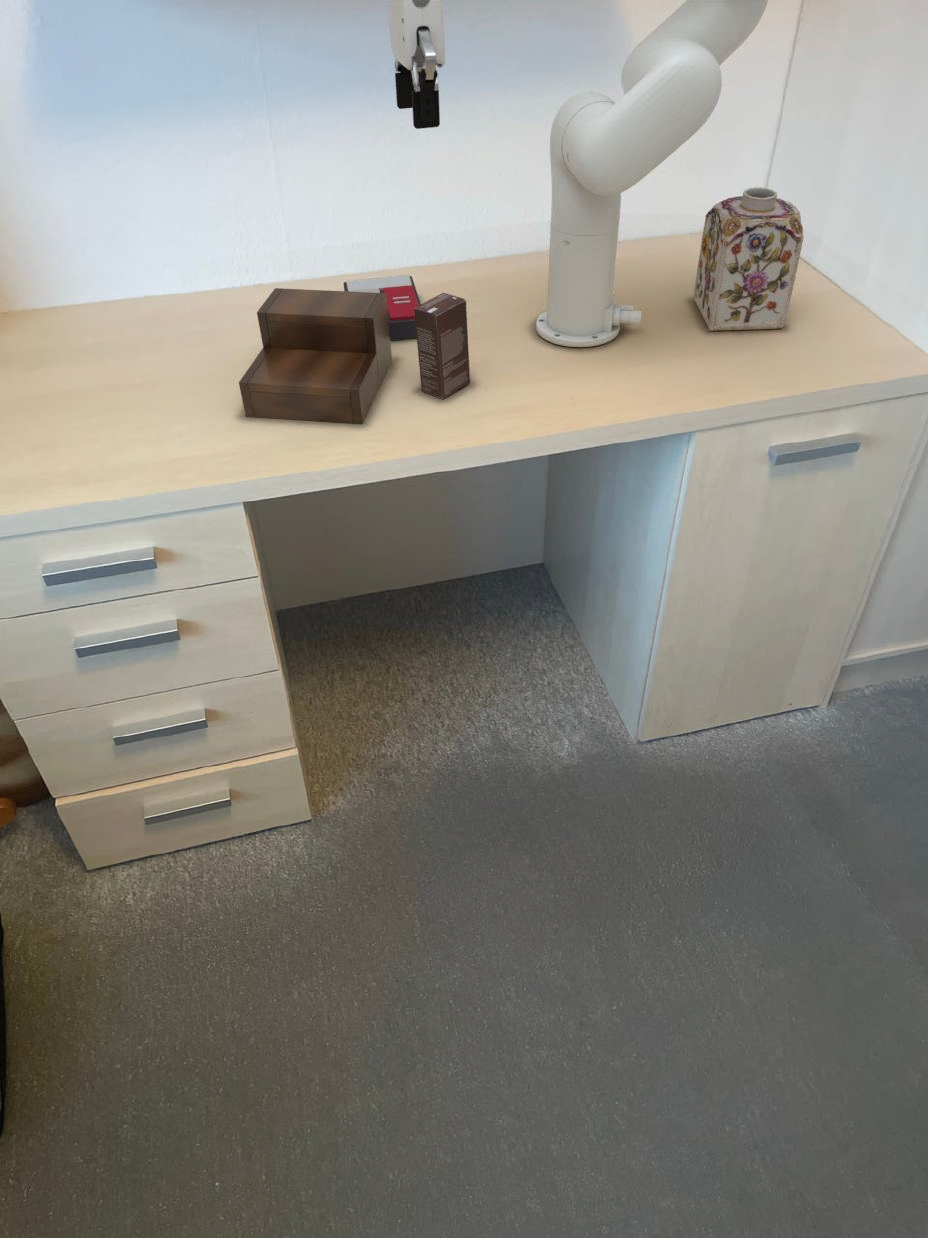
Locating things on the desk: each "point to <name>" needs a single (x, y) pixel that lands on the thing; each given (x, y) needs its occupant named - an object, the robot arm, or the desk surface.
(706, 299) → the decorative jar
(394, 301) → the calculator
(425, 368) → the box
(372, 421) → the desk surface
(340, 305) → the step shelf
